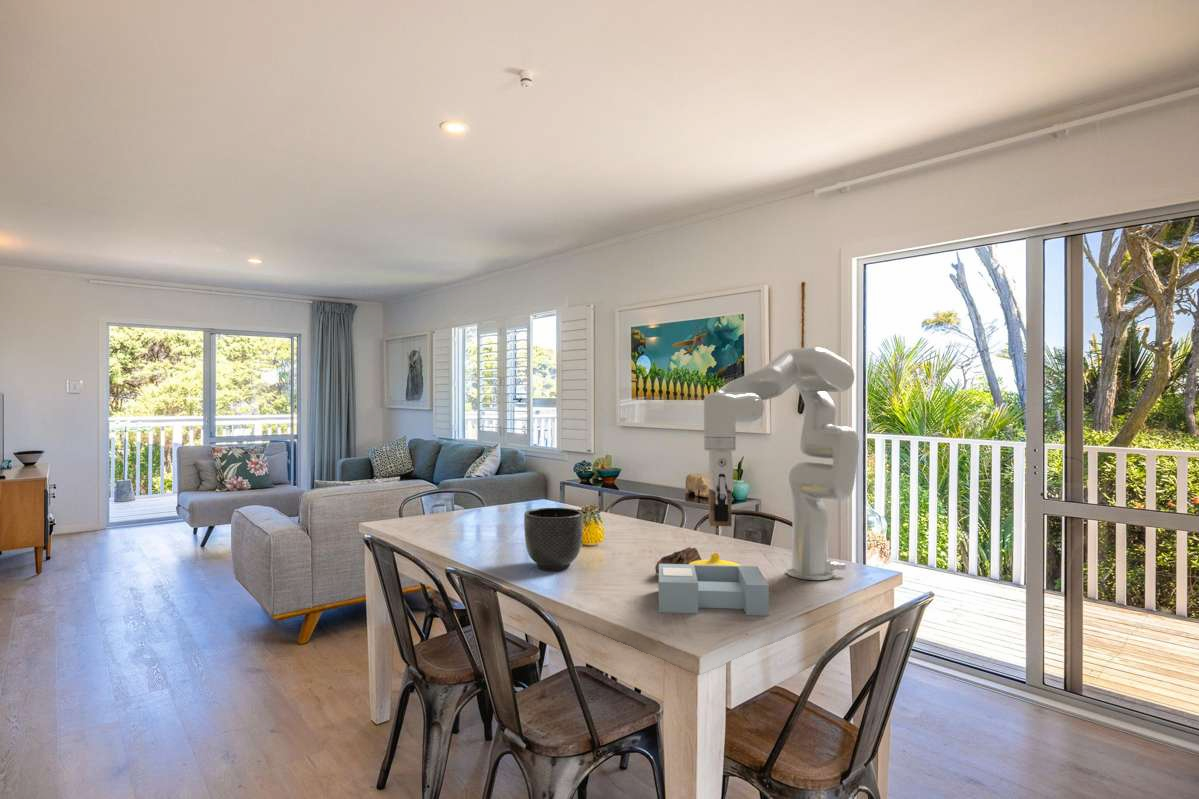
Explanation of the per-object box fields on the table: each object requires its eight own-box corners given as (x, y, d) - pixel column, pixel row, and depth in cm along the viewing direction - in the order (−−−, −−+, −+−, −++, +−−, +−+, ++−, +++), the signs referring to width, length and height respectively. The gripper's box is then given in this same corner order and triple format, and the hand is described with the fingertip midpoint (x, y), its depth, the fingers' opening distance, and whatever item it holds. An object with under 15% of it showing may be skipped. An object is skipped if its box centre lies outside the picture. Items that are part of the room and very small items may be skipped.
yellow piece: (674, 579, 182) (674, 553, 182) (708, 569, 193) (708, 544, 193) (722, 591, 171) (722, 564, 171) (755, 579, 182) (756, 554, 182)
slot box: (757, 593, 169) (757, 565, 169) (768, 615, 152) (768, 584, 152) (658, 590, 171) (658, 562, 171) (659, 612, 154) (659, 580, 154)
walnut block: (729, 522, 164) (729, 489, 163) (731, 526, 159) (731, 492, 158) (708, 521, 164) (708, 489, 164) (710, 525, 159) (710, 492, 159)
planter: (594, 568, 193) (595, 513, 192) (545, 578, 182) (545, 520, 182) (560, 557, 206) (560, 505, 206) (512, 565, 195) (512, 511, 195)
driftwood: (681, 585, 177) (682, 554, 177) (652, 581, 180) (653, 551, 180) (702, 565, 198) (703, 538, 198) (676, 562, 201) (676, 535, 201)
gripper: (739, 447, 152) (740, 526, 152) (731, 441, 169) (731, 512, 169) (706, 447, 153) (707, 525, 153) (701, 441, 170) (701, 512, 170)
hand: (719, 518), depth 161 cm, fingers closed on walnut block, 5 cm apart
